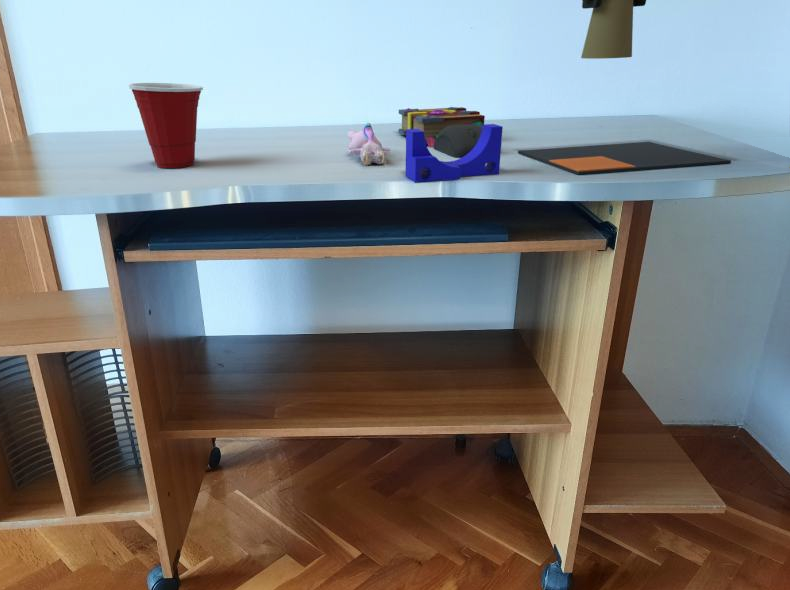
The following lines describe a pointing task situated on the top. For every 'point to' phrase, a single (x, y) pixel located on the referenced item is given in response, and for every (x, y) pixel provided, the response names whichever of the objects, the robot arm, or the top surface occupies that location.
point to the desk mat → (620, 157)
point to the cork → (610, 30)
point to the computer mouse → (458, 139)
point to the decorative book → (437, 120)
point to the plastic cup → (169, 120)
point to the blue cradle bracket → (431, 169)
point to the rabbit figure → (367, 146)
